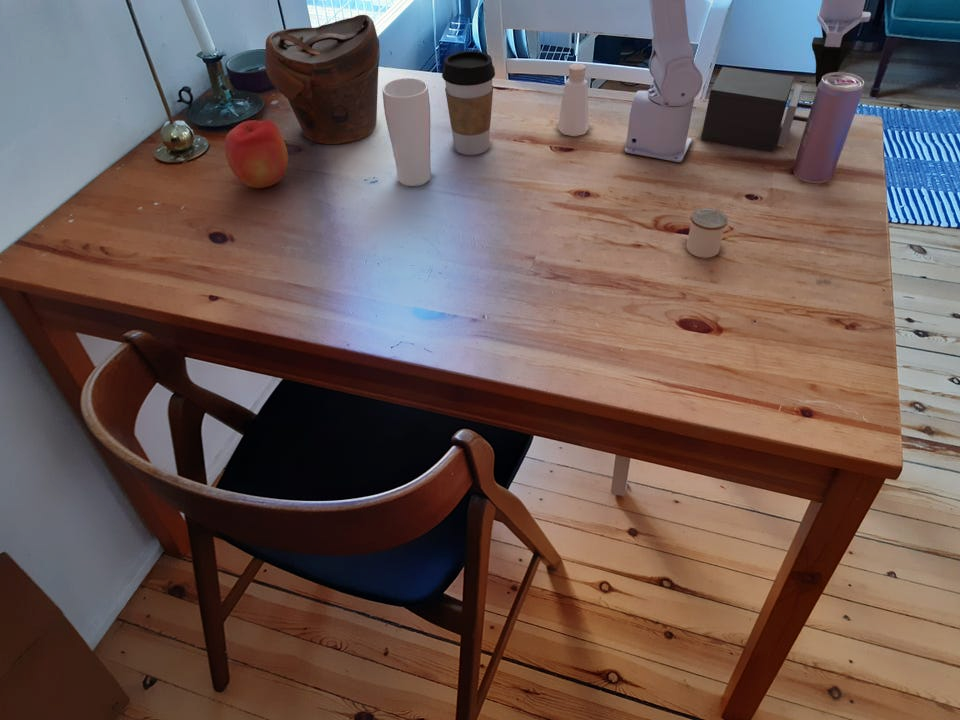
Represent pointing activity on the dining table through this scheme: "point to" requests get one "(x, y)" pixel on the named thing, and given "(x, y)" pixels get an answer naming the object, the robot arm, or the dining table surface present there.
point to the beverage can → (827, 126)
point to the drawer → (792, 114)
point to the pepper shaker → (574, 103)
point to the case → (328, 77)
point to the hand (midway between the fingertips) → (826, 75)
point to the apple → (256, 153)
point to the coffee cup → (469, 99)
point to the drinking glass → (409, 128)
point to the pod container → (706, 232)
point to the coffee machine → (746, 108)
